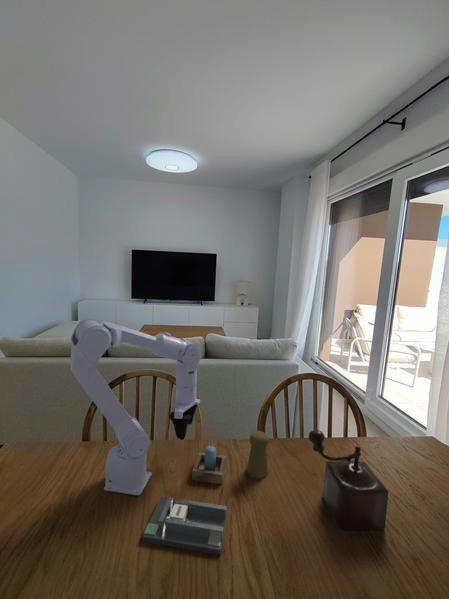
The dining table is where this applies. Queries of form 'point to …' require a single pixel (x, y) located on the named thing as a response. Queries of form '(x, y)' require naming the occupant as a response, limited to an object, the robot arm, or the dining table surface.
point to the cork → (258, 455)
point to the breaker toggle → (179, 512)
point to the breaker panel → (188, 526)
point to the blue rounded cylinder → (210, 458)
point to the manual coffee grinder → (352, 490)
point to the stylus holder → (207, 475)
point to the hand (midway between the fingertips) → (184, 430)
